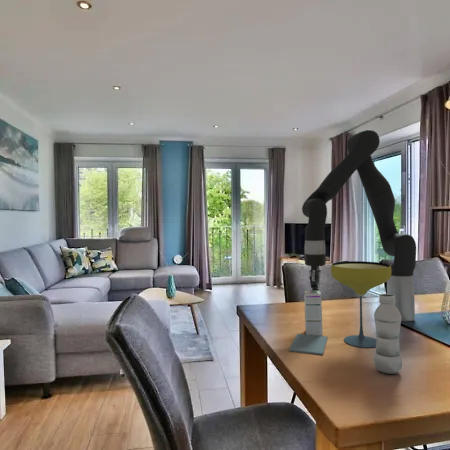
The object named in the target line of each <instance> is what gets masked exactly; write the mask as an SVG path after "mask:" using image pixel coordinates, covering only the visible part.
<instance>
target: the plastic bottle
mask: <svg viewBox="0 0 450 450" xmlns="http://www.w3.org/2000/svg"><path fill="white" fill-rule="evenodd" d="M378 296H379V298H378V302H379V304H378V306H377V308H376V309H375V311H374V312H373V313H374V314H373V319H374V324H375V325H374V326H375V334H376V338H375V339H377V341H376V347H375V352H374V357H373V362H374V367H375V368H376V370H377V371H379V372H381V373H383V374H387V375H388V374H390V375H394V374H398V373H400V371H401V370H402V366H403V362H402V356H401V351H400V350H401V349H400V330H401V323H402V321H401V314H400V312H399V310H398V309H397V308H396V306H395V305H394V304H395V296H394V295H391V294H387V293H381V294H379V295H378Z"/></svg>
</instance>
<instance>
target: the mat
mask: <svg viewBox="0 0 450 450" xmlns="http://www.w3.org/2000/svg"><path fill="white" fill-rule="evenodd" d="M327 341H328V336H324V335H322V336H315V335H306V333H305V334H302V333H297V334H296V335H295V338H293V341H292V343H291V345H290V347H289V349H288V351H289V352H295V353H300V354H301V353H303V354H309V355H310V354H312V355H318V356H319V355H320V356H324V353H325V348H326V345H327Z"/></svg>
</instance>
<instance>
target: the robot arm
mask: <svg viewBox="0 0 450 450" xmlns="http://www.w3.org/2000/svg"><path fill="white" fill-rule="evenodd" d="M380 142H381V141H380V136H379V134H378V133H377V131H374V130H373V129H364V130H361V131H359V132H357V133H354V134H352V135H351V136H349V138H348V139H347V141H346V148H347V149H346V150H347V152H348V153H347V155H346V157H344V158H343V160H341V162H339V163H338V164H337V165H336V166H335V167H334V168H333V169H332V170H331V171H330V172H329V173H328V174H327V176H325V178H324V179H323V180H322V182H321V183H320V185H319V186H318V187H317V189H315V190H314V191H313V192H312V193H311V194H310V195H309V197H307V198H306V200H305V201H304V202H303V204H302V207H301V210H302V214H303V215H304V216H305V217H307V218H308V220H307V221H308V222H307V225H306V226H305V228H304V265H305V266H308V267H309V266H310V269H309V271H308V273H309V274H308V275H309V283H310V288H311V290H316V291H320V290H319V289H320V286H321V280H322V279H321V276H322V275H321V274H322V270H321V269H320V267H324V266H326V264H327V263H326V242H325V227H326V222H327V217H328V216H327V215H328V207H327V203H328V202H329V201H331V200H332V201H333V200H334V198H335V197H336V196H337V194H338V193H339V192H340V191H341V189H342V188H343V187H344V186H345V184H346V183H347V181H348V180H349V179H350V178H351V176H353V174H354V173H355V172H357V173H358V176H359V179H360V181H361V184H362V187H363V190H364V193H365V196H366V199H367V202H368V203H369V207H370V209H371V212H372V215H373V218H374V221H375V223H376V226H377V227H376V228H377V231H378V235H379V239H380V244H381V247H382V250H383V251H384V252H385V253H386V255H388V256H391V257H393V263H392V264H390V266H391V277H390V279H389V280H388V281H386V294H391V295H394V296H395V304H394V305H395V306H396V308H397V309H398V310H399V312H400V314H401V322H415V321H416V316H415V313H416V311H415V310H416V309H415V305H416V304H415V303H416V302H415V295H414V270H415V268H416V261H417V260H416V259H417V243H416V241H415V239H414V237H413V236H412V235H410V234H407V233H399V232H398V229H397V227H396V224H395V219H394V214H395V209H396V207H395V206H396V198H395V194H394V193H393V190H392V187H391V184H390V182H389V181H388V180H387V178H386V177H385V176H384V175H383V173H382V172H381V171H379V169H378V168H377V166H376V165H375V163H374V161H373V158H372V155H373V154H374V153H375V152H376V150H378V148H379V146H380Z"/></svg>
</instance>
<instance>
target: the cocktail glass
mask: <svg viewBox="0 0 450 450" xmlns="http://www.w3.org/2000/svg"><path fill="white" fill-rule="evenodd" d="M330 273H331V276H332V278H334V279H335V281H337V282H339V283H340V284H342V285H345V286H347V287H348V288H349V289H352V290H353V291H354V293H355V294H356V295H357V296H358V297H359V334H358V335H357V334H354V335H353V334H352V335H348V336H345V337H344V338H343V341H344V343H345V344H347V345H349V346H351V345H352V346H353V347H356V348H363V349H370V348H373V349H374V348H376V341H377V339H376V338H374V337H372V336H368V335H364V334H365V333H364V330H363V328H364V327H363V298H362V297H364V296H365V295H366V294H367V293H368V292H369V291H370V290H371V289H374V288H376V287H379V286H381V285H383V284H385V283H387V281H388V280H389V279H390V277H391V264H388V263H383V262H375V261H365V260H364V261H357V260H351V261H350V260H349V261H337V262H333V263H332V264H331V266H330ZM352 346H351V347H352Z"/></svg>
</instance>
